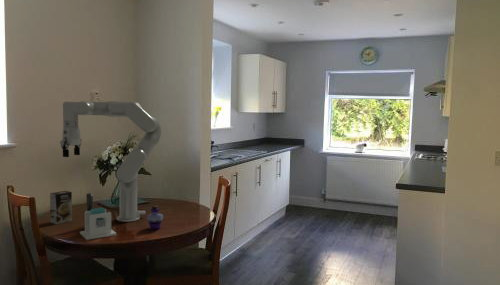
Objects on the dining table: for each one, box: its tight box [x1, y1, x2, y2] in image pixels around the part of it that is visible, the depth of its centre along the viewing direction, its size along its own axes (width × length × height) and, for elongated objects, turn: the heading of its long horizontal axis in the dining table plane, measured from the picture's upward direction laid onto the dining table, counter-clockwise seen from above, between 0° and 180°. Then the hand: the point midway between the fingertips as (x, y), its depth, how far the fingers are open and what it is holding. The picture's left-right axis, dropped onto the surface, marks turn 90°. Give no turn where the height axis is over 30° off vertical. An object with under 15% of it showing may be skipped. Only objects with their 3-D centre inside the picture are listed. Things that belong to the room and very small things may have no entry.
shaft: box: [86, 192, 105, 226], centre depth 202 cm, size 3×22×12 cm, turn 36°
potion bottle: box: [146, 205, 164, 231], centre depth 209 cm, size 9×9×12 cm
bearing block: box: [79, 208, 117, 241], centre depth 198 cm, size 14×12×11 cm
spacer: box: [91, 207, 106, 218], centre depth 198 cm, size 6×4×4 cm
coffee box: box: [49, 190, 73, 225], centre depth 219 cm, size 9×6×16 cm
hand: (71, 155), depth 220 cm, fingers open, 9 cm apart
